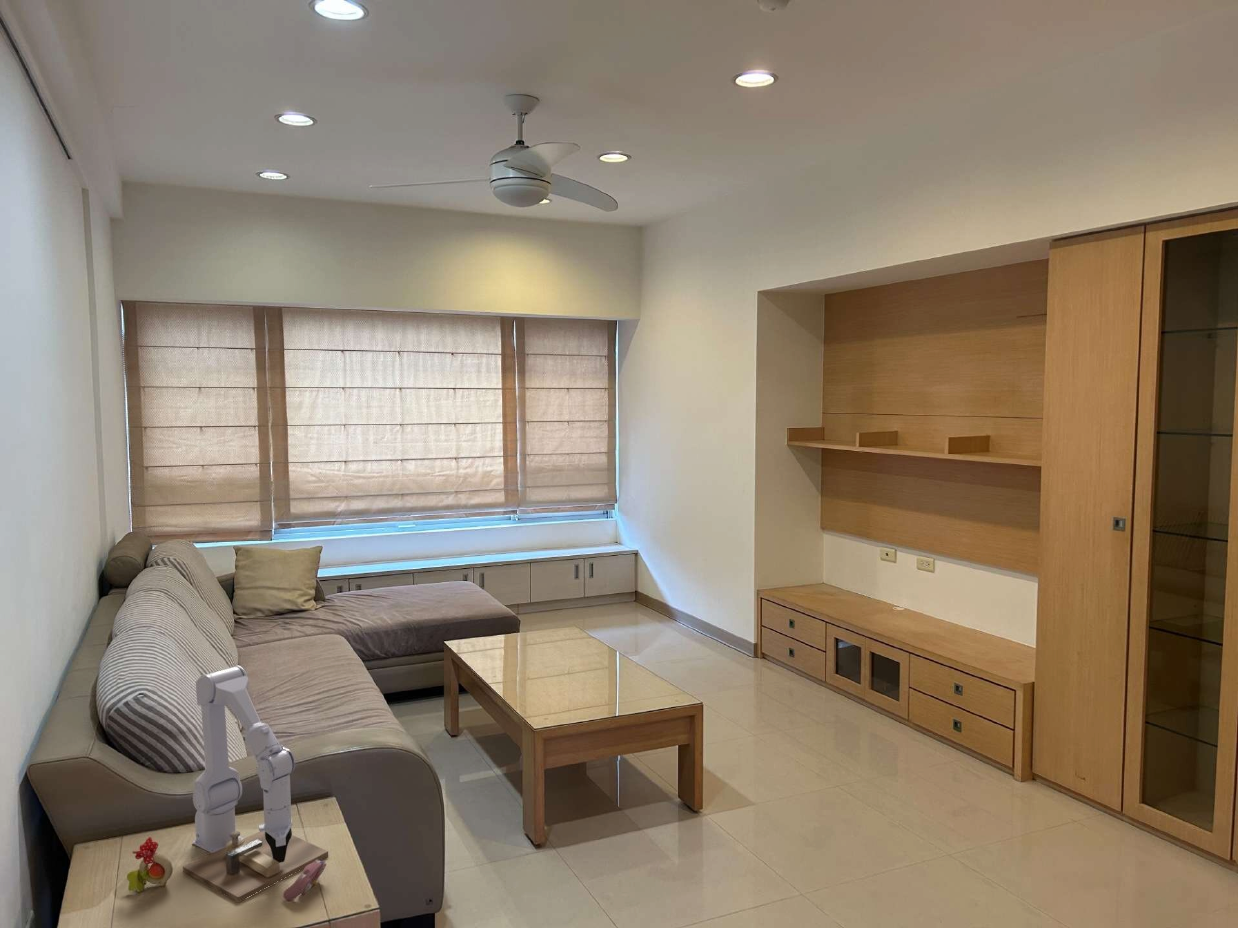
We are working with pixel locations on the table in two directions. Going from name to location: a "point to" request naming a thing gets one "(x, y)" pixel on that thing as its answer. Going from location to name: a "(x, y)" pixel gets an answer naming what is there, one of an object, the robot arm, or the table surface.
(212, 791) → the robot arm
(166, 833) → the table surface
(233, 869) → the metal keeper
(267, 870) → the wooden link
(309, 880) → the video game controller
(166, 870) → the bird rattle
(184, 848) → the table surface
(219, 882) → the walnut board
